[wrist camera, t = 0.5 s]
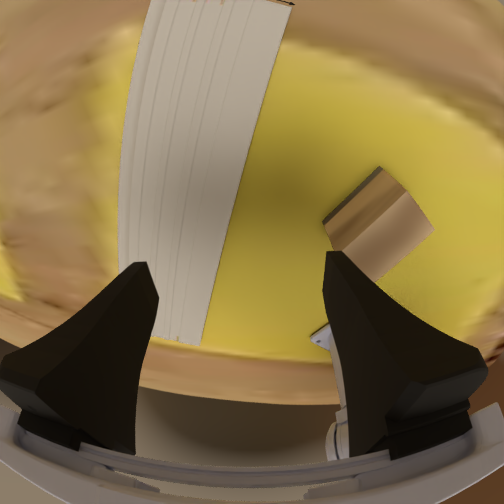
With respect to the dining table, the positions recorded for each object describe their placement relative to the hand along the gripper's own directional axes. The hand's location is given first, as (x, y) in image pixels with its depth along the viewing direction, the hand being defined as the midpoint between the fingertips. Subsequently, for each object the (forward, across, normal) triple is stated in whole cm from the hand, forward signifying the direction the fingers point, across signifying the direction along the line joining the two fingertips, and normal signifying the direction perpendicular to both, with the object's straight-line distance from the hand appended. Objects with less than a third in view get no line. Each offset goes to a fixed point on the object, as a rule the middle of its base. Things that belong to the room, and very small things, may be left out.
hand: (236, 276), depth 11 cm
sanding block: (+10, -9, +2) cm, 14 cm away
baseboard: (+10, +6, +1) cm, 12 cm away
